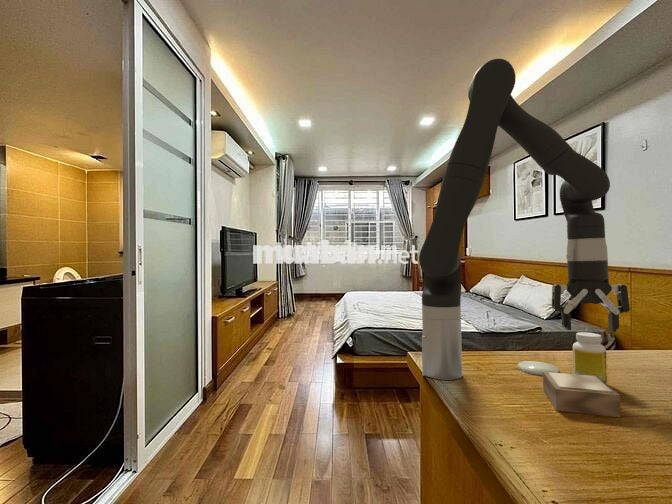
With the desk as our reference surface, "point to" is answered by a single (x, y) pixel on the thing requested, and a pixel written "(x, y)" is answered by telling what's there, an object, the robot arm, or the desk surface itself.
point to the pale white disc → (537, 367)
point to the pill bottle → (589, 356)
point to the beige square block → (581, 394)
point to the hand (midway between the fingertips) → (590, 330)
